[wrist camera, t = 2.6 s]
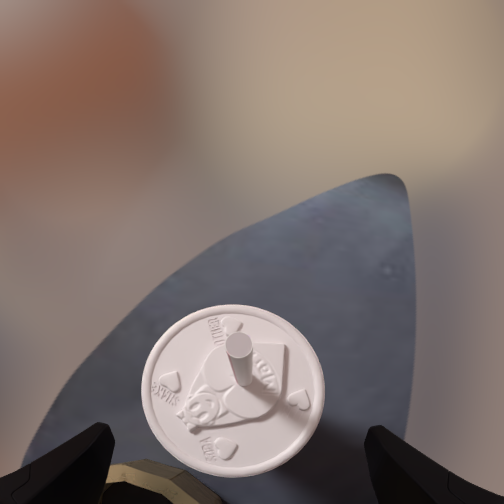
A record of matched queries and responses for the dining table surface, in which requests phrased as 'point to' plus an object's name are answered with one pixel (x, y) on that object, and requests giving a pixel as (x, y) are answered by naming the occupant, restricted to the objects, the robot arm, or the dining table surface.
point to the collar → (162, 482)
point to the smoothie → (233, 390)
